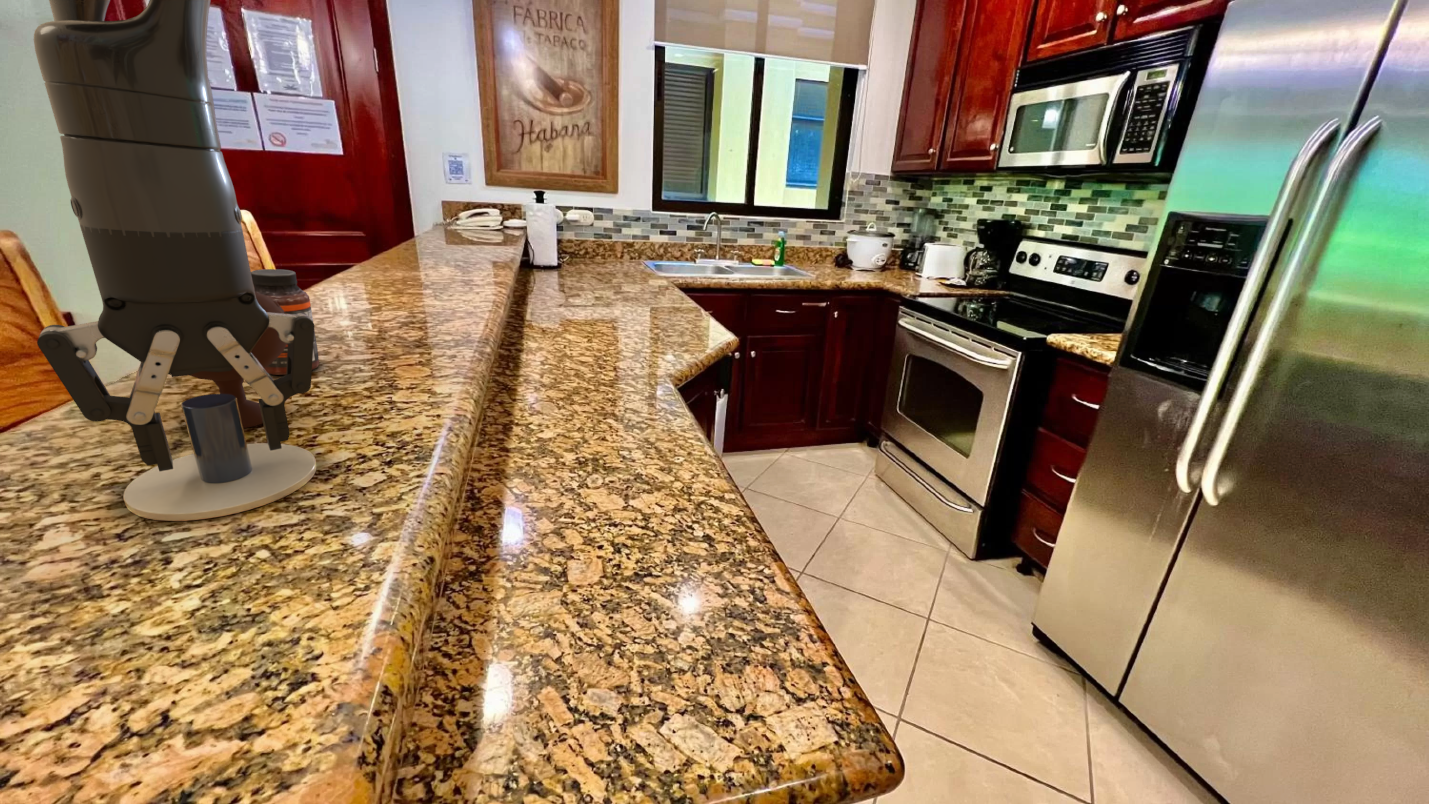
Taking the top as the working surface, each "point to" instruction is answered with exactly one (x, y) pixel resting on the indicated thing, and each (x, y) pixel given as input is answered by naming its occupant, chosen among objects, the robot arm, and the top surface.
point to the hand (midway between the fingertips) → (222, 454)
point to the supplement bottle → (284, 306)
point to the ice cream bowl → (266, 355)
